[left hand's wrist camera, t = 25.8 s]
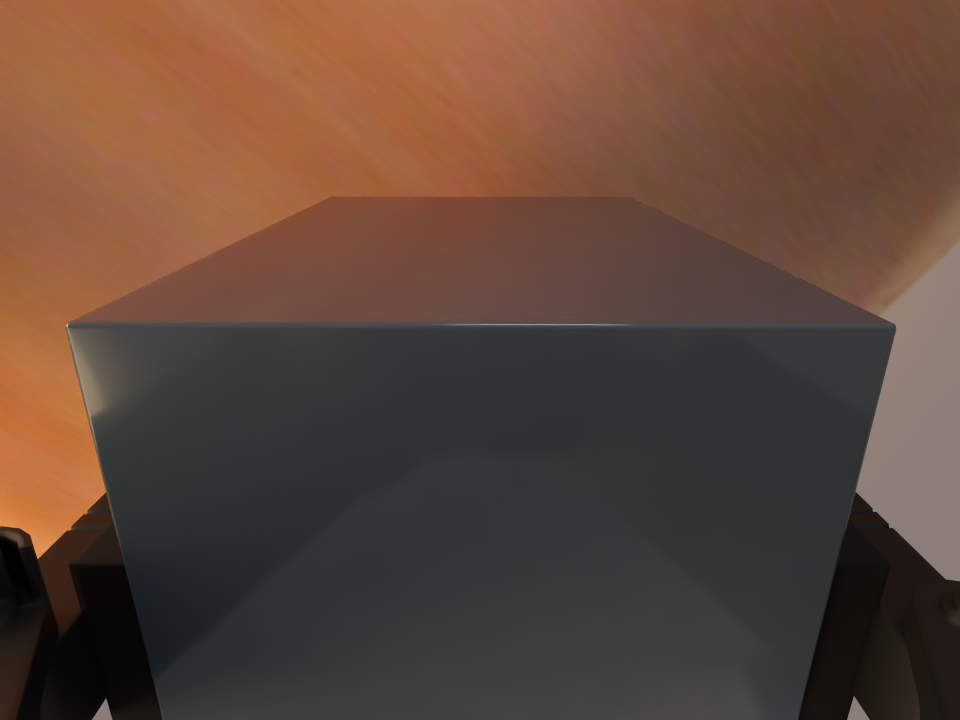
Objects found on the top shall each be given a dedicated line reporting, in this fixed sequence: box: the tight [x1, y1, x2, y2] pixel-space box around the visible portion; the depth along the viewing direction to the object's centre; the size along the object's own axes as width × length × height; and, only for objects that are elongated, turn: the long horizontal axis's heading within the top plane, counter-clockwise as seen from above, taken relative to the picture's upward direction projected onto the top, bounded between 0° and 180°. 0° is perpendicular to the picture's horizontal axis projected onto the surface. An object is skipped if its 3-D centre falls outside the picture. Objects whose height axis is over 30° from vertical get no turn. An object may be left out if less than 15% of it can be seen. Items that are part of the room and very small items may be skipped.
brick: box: [66, 197, 896, 720], centre depth 13 cm, size 9×8×12 cm
